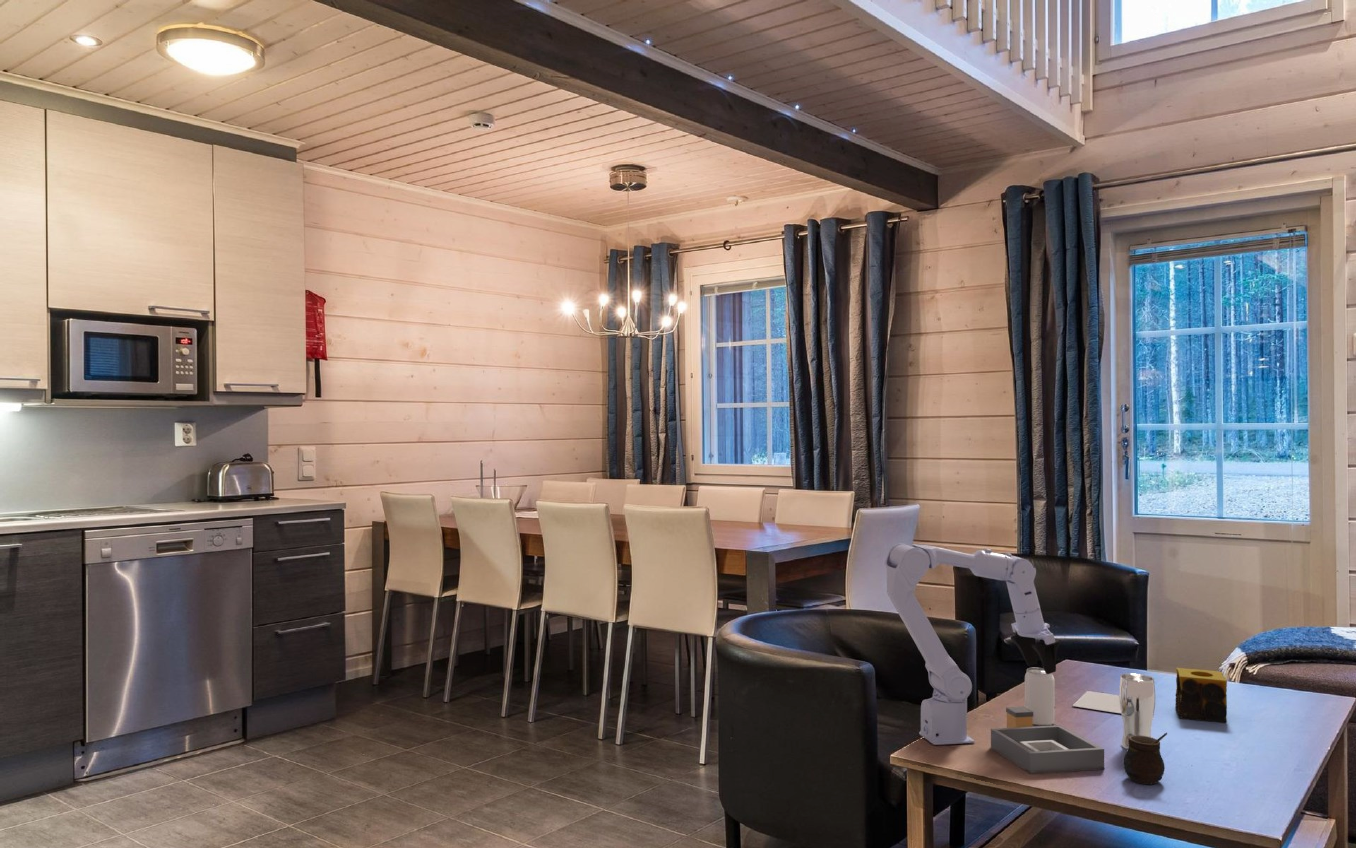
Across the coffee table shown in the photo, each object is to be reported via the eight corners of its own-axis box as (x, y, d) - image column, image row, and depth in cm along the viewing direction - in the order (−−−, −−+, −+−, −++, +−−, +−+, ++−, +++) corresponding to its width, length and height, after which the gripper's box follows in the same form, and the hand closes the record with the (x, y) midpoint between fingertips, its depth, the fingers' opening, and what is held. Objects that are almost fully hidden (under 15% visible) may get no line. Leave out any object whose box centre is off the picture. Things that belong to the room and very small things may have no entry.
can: (1056, 727, 221) (1056, 674, 221) (1026, 725, 223) (1026, 673, 223) (1051, 719, 228) (1051, 668, 228) (1022, 717, 229) (1022, 666, 229)
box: (1030, 773, 191) (1030, 753, 191) (990, 747, 207) (990, 729, 207) (1104, 769, 194) (1104, 749, 194) (1059, 743, 210) (1059, 725, 210)
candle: (1178, 719, 228) (1178, 676, 228) (1174, 707, 238) (1174, 666, 238) (1227, 724, 224) (1227, 680, 225) (1221, 712, 234) (1221, 670, 234)
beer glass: (1152, 744, 209) (1152, 674, 210) (1157, 754, 203) (1157, 682, 203) (1117, 741, 212) (1117, 672, 212) (1121, 750, 205) (1120, 679, 205)
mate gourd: (1122, 772, 192) (1122, 721, 193) (1164, 777, 190) (1165, 726, 190) (1123, 783, 186) (1124, 731, 186) (1167, 790, 183) (1168, 737, 183)
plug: (1015, 740, 212) (1015, 712, 212) (1006, 734, 216) (1006, 707, 216) (1033, 739, 213) (1033, 712, 213) (1023, 733, 217) (1023, 706, 217)
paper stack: (1032, 702, 243) (1032, 699, 243) (1057, 681, 263) (1057, 679, 263) (1133, 718, 229) (1133, 715, 229) (1151, 694, 250) (1151, 692, 250)
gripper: (1060, 610, 209) (1076, 670, 209) (1025, 599, 223) (1040, 656, 223) (1031, 619, 208) (1047, 680, 208) (998, 608, 222) (1012, 665, 222)
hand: (1041, 668), depth 216 cm, fingers open, 7 cm apart
